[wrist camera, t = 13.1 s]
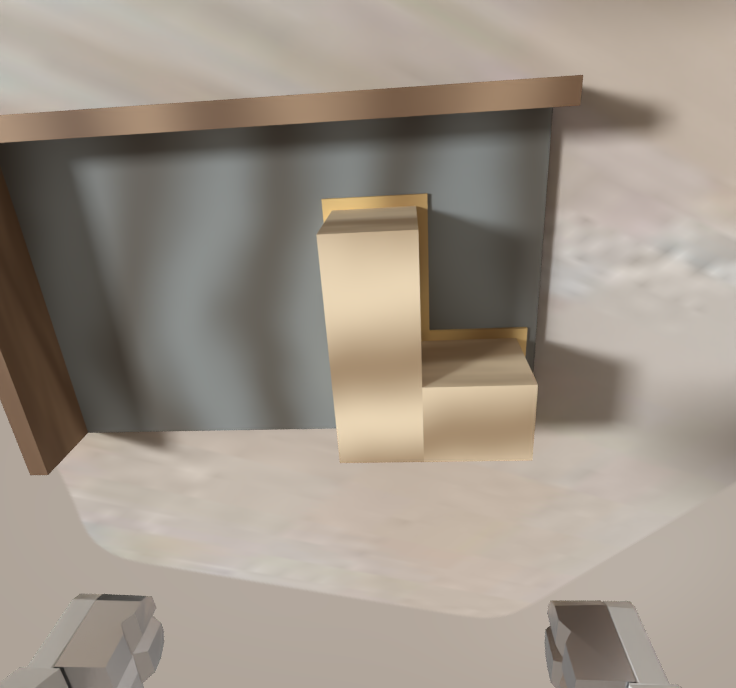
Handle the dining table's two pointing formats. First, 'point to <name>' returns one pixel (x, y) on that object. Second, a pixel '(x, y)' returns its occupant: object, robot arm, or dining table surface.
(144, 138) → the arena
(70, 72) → the dining table surface
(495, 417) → the oak L block
